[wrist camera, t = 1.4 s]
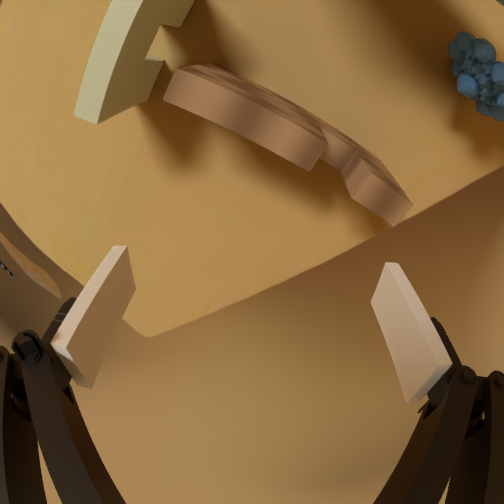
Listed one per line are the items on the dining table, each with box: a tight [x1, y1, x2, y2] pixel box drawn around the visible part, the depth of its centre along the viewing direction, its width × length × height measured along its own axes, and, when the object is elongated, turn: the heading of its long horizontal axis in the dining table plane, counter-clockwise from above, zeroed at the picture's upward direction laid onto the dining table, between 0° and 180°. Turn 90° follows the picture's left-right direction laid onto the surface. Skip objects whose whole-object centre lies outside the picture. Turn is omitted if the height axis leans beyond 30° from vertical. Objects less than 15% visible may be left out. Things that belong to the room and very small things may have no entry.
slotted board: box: [162, 63, 413, 227], centre depth 27 cm, size 24×3×12 cm, turn 62°
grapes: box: [448, 31, 504, 122], centre depth 19 cm, size 12×7×12 cm, turn 41°
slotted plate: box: [74, 0, 195, 125], centre depth 21 cm, size 16×3×12 cm, turn 152°
